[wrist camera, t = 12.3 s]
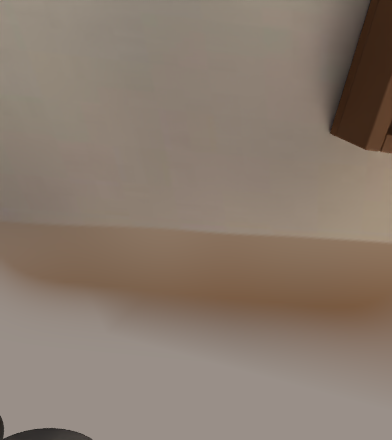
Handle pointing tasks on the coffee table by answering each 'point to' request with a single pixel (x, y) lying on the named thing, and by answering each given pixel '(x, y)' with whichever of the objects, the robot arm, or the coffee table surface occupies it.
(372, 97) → the tray
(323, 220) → the coffee table surface
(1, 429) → the robot arm
